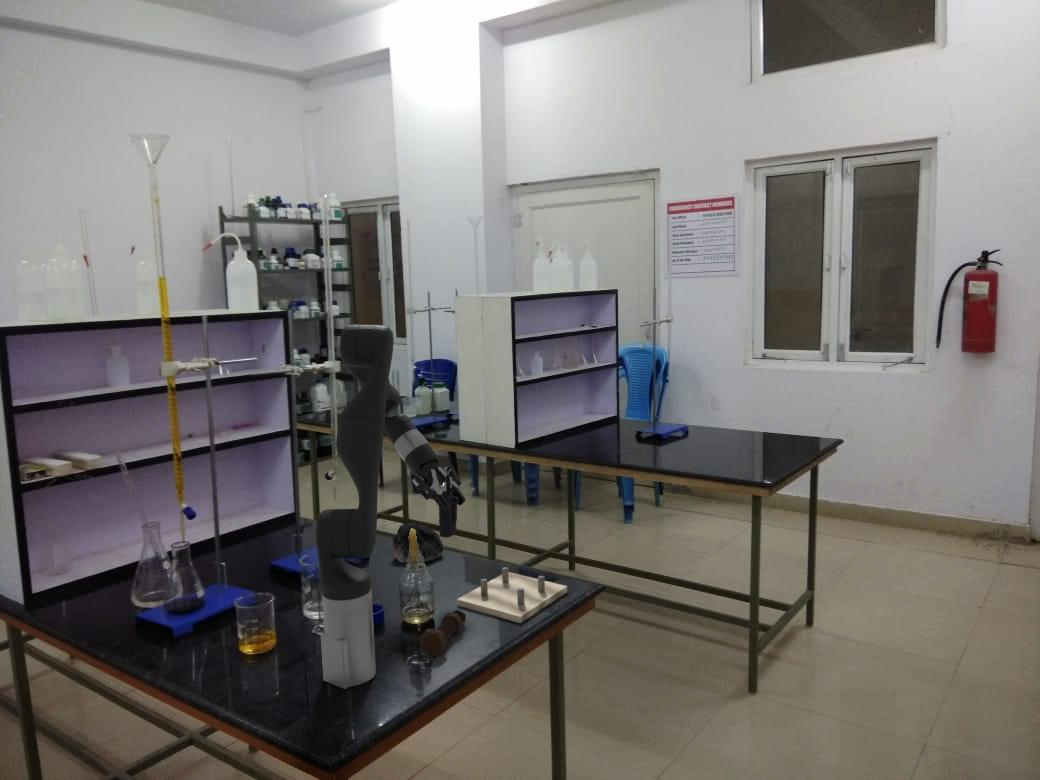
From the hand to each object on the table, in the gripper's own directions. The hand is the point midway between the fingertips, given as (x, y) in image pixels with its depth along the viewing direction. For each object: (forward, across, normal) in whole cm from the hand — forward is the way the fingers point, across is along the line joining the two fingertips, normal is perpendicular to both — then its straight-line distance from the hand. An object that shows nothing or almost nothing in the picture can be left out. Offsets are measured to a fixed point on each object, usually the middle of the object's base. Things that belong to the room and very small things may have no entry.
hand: (455, 505), depth 185 cm
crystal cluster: (-2, +14, +33) cm, 36 cm away
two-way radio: (+4, 0, +7) cm, 8 cm away
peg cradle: (+25, +4, +6) cm, 26 cm away
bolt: (+25, -20, +6) cm, 33 cm away
